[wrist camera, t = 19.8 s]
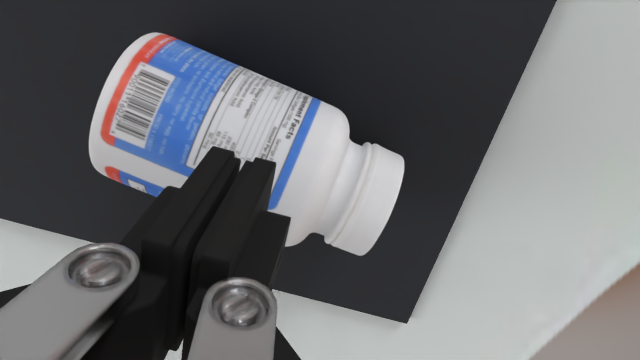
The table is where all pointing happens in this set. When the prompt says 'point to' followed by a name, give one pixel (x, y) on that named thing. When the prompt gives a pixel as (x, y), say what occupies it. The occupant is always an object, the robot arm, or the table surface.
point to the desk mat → (295, 72)
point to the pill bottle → (241, 139)
